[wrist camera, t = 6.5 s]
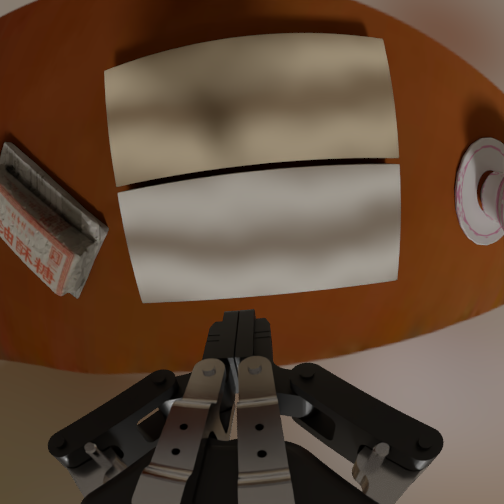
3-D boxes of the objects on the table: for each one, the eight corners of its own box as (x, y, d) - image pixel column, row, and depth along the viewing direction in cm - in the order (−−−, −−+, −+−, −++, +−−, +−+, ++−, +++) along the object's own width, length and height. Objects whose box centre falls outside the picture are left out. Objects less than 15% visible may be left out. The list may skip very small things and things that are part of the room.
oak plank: (118, 76, 19) (104, 71, 16) (371, 48, 17) (382, 38, 15) (130, 182, 22) (116, 187, 20) (385, 156, 21) (398, 158, 18)
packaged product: (87, 242, 20) (60, 317, 23) (113, 225, 24) (83, 294, 27) (-16, 143, 16) (-31, 219, 19) (13, 139, 21) (-6, 209, 24)
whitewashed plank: (130, 189, 22) (117, 193, 20) (386, 163, 21) (399, 164, 18) (151, 291, 25) (142, 302, 23) (386, 269, 24) (397, 280, 21)
